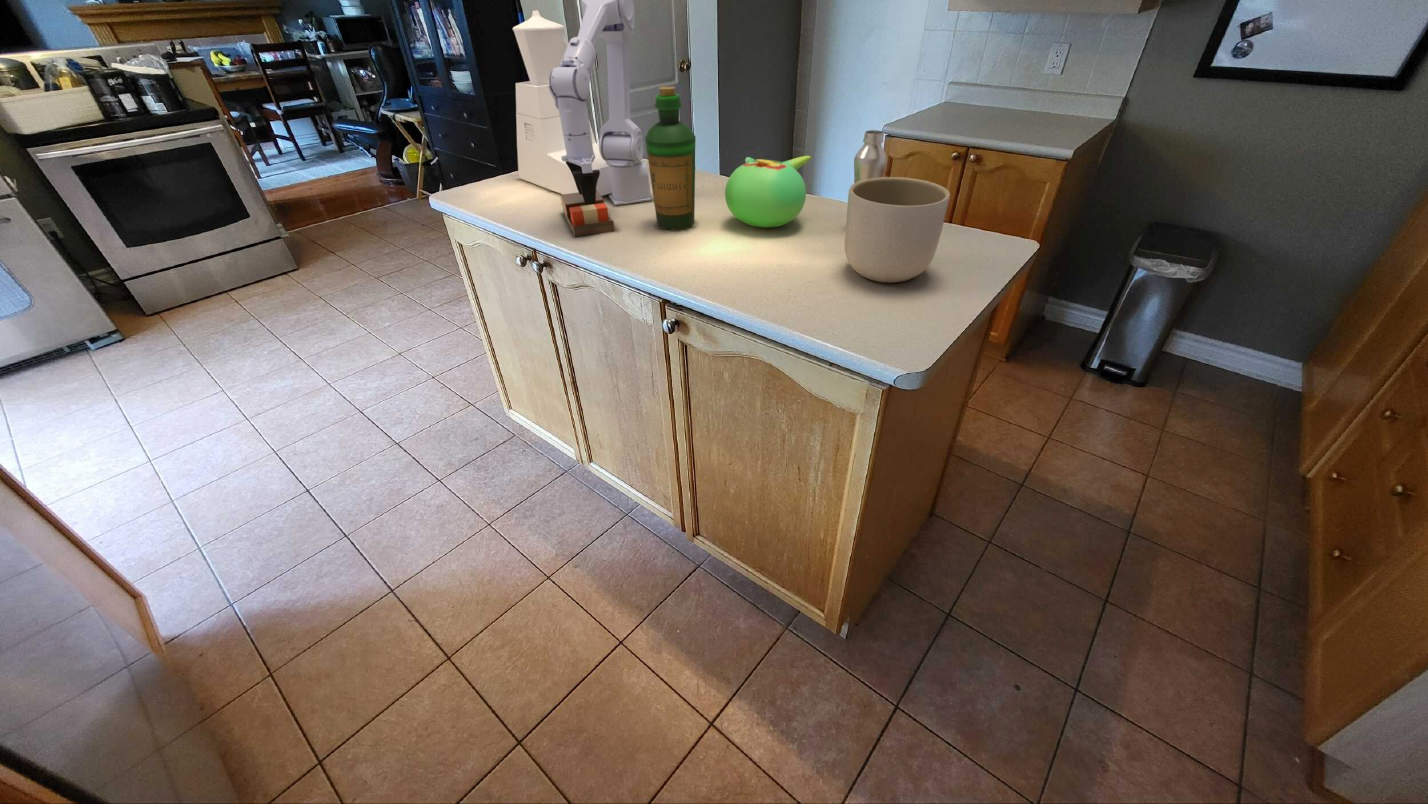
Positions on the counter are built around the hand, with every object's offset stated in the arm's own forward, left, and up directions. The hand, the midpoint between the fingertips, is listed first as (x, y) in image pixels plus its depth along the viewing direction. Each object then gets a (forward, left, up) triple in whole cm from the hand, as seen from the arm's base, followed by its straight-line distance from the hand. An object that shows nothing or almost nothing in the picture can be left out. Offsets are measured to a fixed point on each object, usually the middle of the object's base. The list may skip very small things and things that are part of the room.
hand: (587, 198), depth 127 cm
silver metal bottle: (-55, +26, -7) cm, 62 cm away
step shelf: (0, -4, -7) cm, 8 cm away
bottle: (-18, +6, -7) cm, 21 cm away
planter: (-47, +47, -7) cm, 67 cm away
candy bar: (0, 0, -5) cm, 5 cm away
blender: (-3, -37, -7) cm, 37 cm away
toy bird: (-37, +14, -7) cm, 41 cm away
